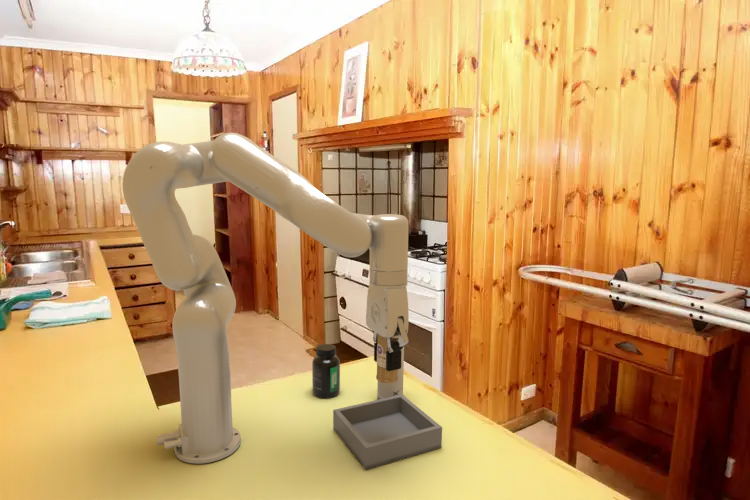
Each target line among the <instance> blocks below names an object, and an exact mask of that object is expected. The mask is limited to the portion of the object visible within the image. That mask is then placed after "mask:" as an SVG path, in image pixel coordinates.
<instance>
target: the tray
mask: <svg viewBox="0 0 750 500" xmlns="http://www.w3.org/2000/svg"><path fill="white" fill-rule="evenodd" d="M332 415H333V417H332V419H333V420H332V421H333V424H332V425H333V428H332V429H333V431H334V432H335V433H336V435H337V436H338V438H339V439H340V440H341V441H342V442H343V443H344V445H345V446H346V447H347V449H348V450H349V452H350V453H352V455H353V456H354V458H355V459H356V460H357V461H358V463H359V464H360V465H361V466H362V467H363V469H364V470H365V471H369V470H372V469H375V468H378V467H379V468H380V467H382V466H386V465H388V464H391V463H394V462H398V461H401V460H406V459H408V458H412V457H415V456H418V455H422V454H426V453H429V452H432V451H436V450H438V449H439V450H440V449H442V444H443V441H442V440H443V426H442V425H440V424H439V423H438V422H437V421H435V420H434V419H433V418H432V417H431V416H429V415H428V414H427V413H426V412H424V411H423V410H422V409H420V407H418V406H417V405H416V404H415V403H413V401H411V400H409V399H408V398H407V397H406V396H405V395H404V394H403V395H402V394H401V395H397V396H392V397H388V398H384V399H379V400H378V399H375V400H371V401H366V402H361V403H357V404H353V405H350V406H345V407H340V408H337V409H333V411H332Z"/></svg>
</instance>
